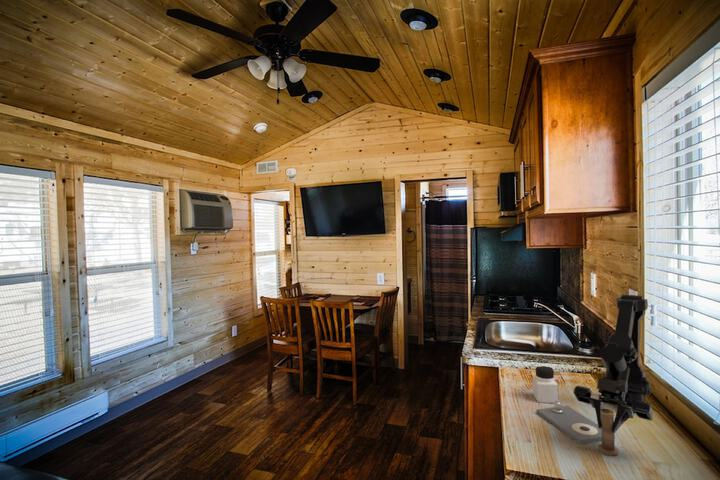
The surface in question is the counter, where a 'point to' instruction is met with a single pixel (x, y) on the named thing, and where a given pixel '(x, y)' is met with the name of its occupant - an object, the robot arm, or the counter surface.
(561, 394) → the counter surface
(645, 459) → the counter surface
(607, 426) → the walnut peg
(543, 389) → the medicine bottle
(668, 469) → the counter surface
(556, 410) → the steel pin
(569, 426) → the board
